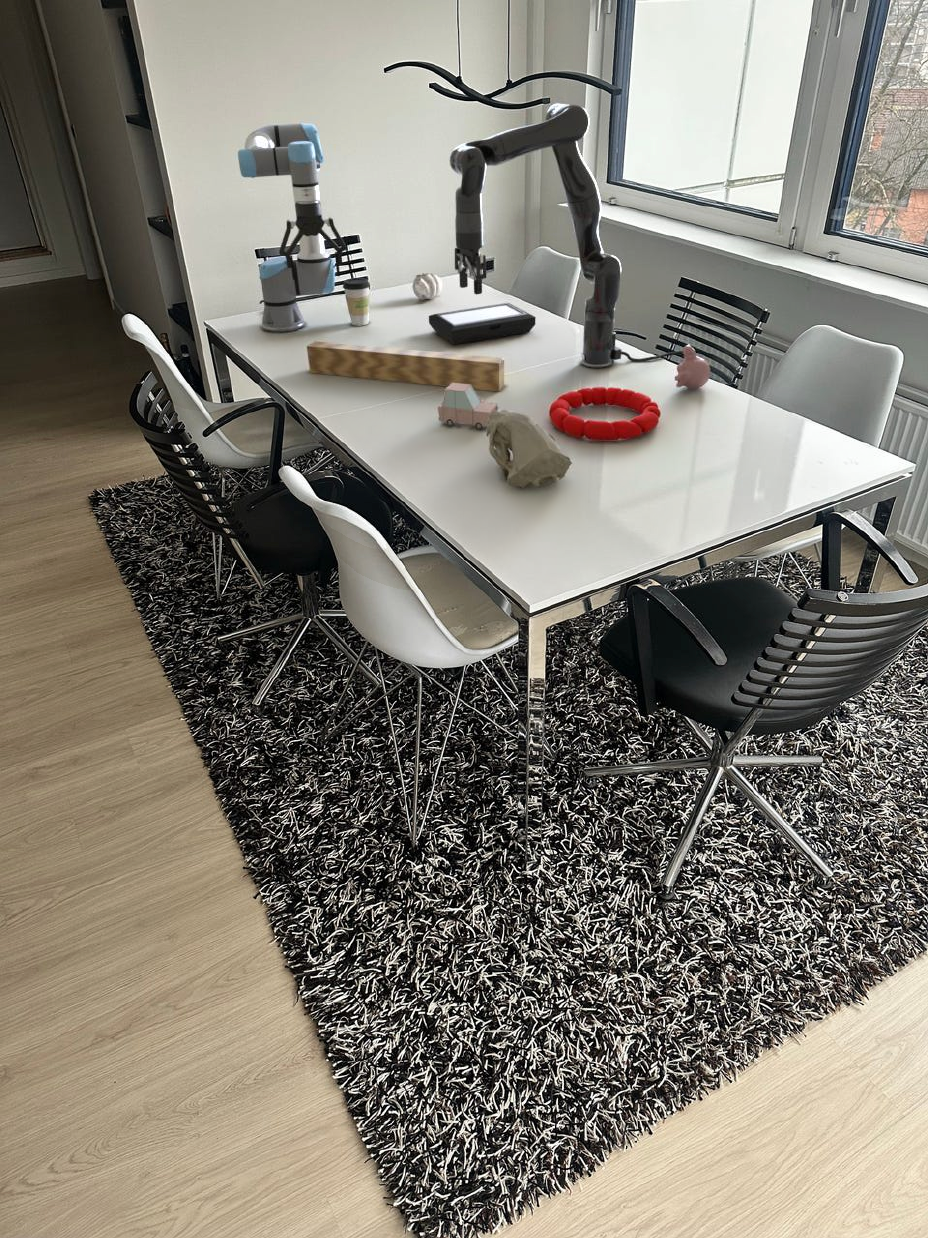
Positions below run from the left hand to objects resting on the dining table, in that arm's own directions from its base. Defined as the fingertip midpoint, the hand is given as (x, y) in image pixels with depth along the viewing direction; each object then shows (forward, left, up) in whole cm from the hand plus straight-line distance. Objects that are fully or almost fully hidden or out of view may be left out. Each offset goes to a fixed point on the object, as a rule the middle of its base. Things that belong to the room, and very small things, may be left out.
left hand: (316, 276), depth 273 cm
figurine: (+48, +104, -28) cm, 118 cm away
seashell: (-70, +44, -28) cm, 87 cm away
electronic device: (-22, +56, -28) cm, 66 cm away
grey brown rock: (+91, +43, -28) cm, 104 cm away
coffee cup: (-45, +15, -28) cm, 55 cm away
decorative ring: (+66, +72, -28) cm, 102 cm away
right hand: (+34, +42, +1) cm, 54 cm away
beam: (+18, +23, -28) cm, 41 cm away
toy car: (+58, +36, -28) cm, 74 cm away
